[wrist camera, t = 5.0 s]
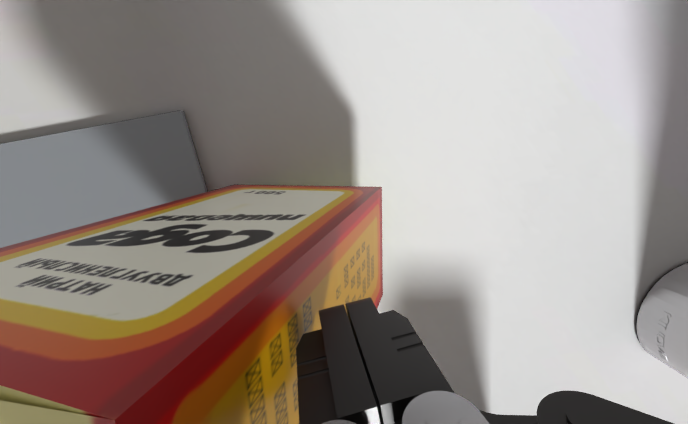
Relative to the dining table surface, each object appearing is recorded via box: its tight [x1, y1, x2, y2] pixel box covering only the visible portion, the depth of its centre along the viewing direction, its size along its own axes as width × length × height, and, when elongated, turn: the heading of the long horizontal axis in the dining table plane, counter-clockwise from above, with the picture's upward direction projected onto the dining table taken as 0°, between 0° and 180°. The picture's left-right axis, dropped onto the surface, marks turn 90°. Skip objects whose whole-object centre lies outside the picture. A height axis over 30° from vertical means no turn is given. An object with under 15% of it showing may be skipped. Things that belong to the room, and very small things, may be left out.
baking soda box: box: [0, 185, 383, 424], centre depth 13 cm, size 10×6×16 cm
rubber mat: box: [0, 110, 208, 248], centre depth 21 cm, size 16×18×1 cm
